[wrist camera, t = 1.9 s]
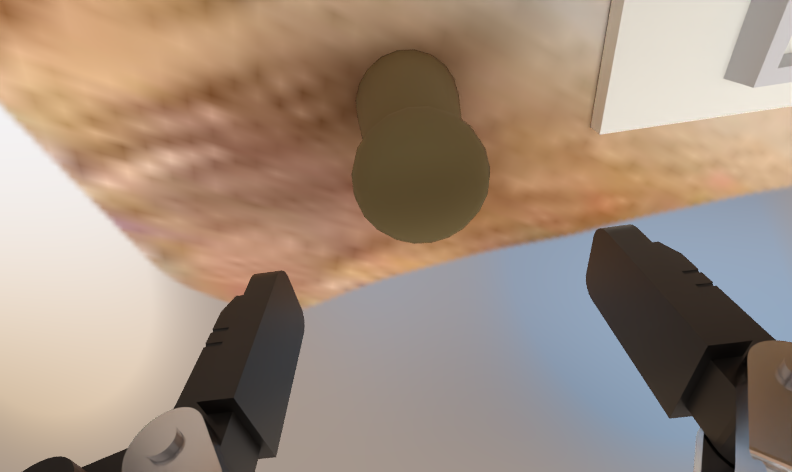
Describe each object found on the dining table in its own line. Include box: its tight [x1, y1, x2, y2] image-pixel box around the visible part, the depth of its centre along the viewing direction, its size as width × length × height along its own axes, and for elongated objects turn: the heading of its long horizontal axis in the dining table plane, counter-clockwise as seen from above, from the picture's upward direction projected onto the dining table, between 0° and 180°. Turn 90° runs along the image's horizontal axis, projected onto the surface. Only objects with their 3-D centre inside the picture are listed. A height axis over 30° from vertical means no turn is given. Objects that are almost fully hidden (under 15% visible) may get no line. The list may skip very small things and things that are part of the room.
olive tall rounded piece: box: [352, 50, 490, 243], centre depth 17 cm, size 6×6×11 cm
